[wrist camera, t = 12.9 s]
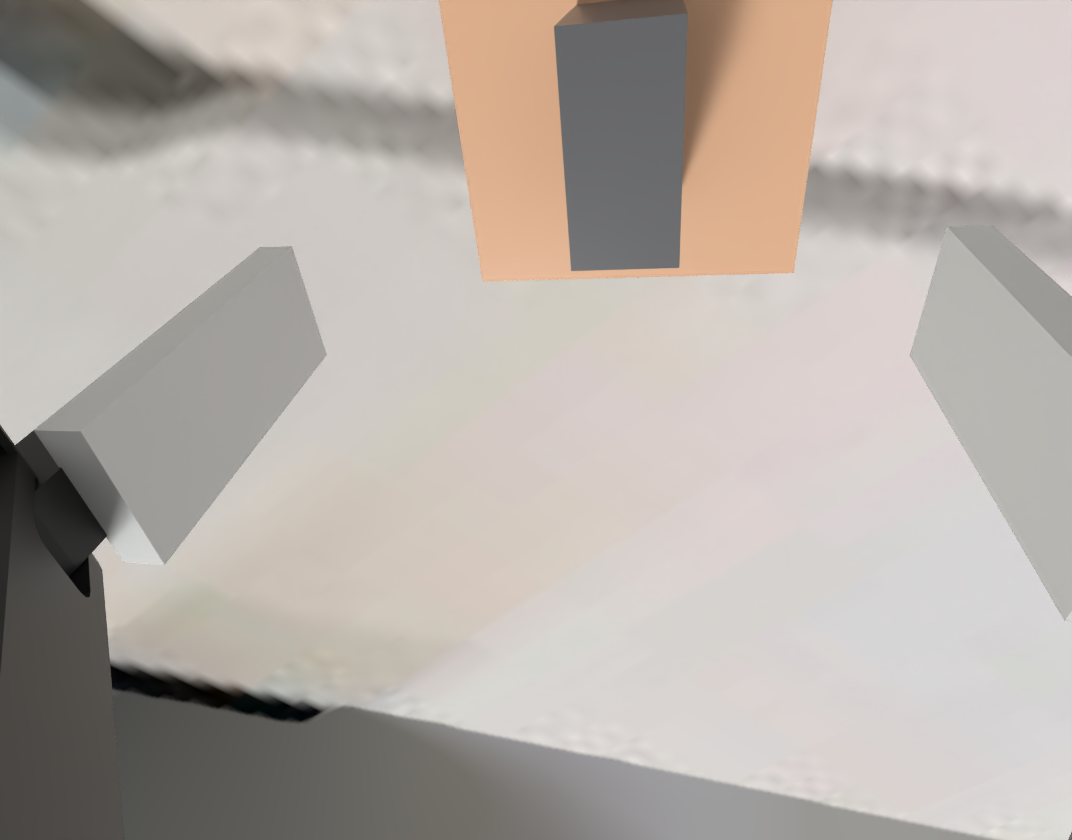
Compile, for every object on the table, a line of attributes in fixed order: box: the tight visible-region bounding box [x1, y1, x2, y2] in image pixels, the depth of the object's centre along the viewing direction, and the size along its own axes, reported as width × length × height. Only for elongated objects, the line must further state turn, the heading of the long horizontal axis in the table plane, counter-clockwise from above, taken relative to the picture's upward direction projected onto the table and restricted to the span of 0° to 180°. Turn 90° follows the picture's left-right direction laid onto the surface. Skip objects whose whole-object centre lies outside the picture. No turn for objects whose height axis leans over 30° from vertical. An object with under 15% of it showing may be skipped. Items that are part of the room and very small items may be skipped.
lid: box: [439, 0, 833, 281], centre depth 25 cm, size 15×15×8 cm
